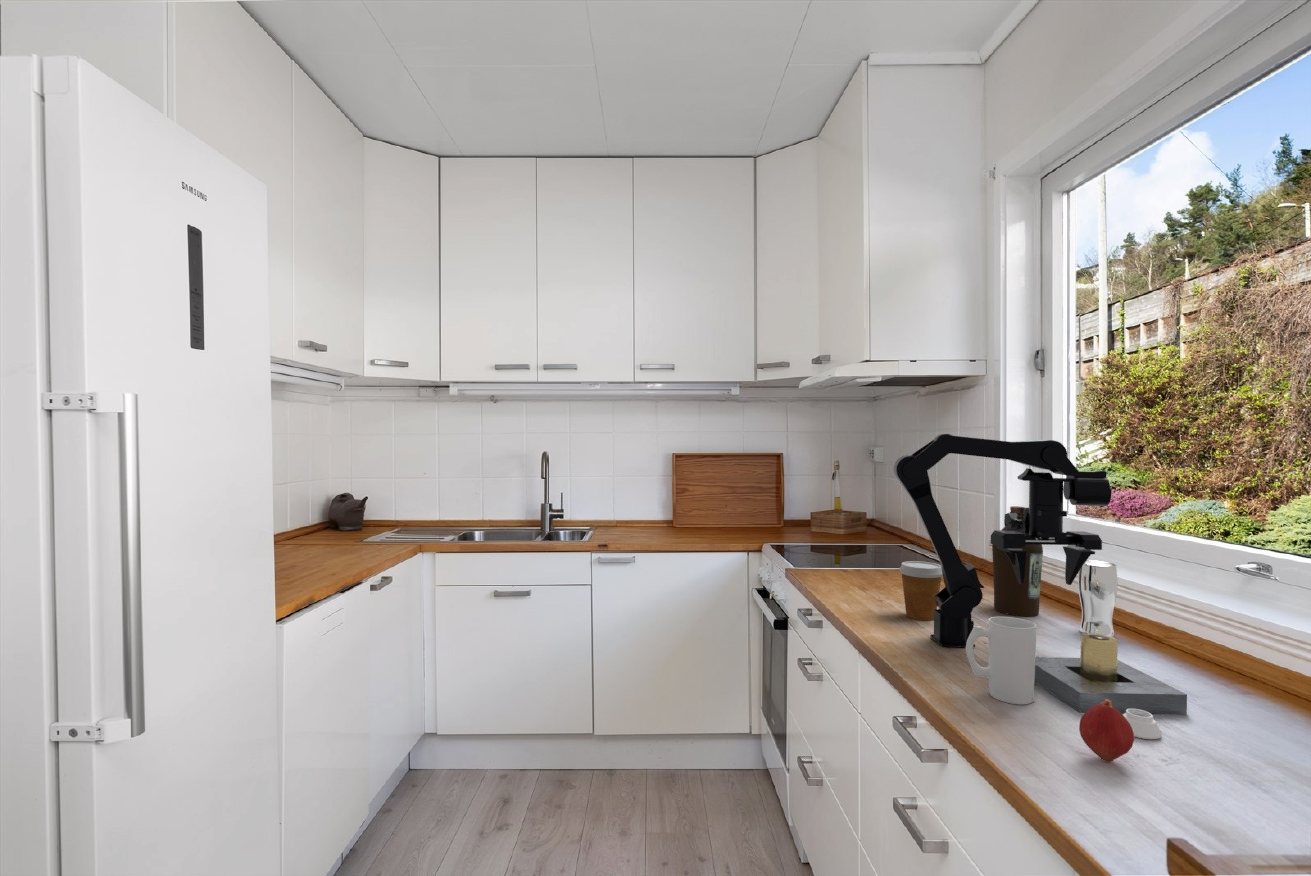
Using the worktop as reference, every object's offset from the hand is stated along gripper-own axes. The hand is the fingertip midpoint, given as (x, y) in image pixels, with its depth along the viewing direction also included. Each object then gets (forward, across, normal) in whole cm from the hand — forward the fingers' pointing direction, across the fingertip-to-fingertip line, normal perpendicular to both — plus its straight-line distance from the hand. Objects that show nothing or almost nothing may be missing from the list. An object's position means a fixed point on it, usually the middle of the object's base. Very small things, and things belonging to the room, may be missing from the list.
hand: (1044, 584), depth 128 cm
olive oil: (+13, -10, -29) cm, 33 cm away
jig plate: (+13, +3, +21) cm, 25 cm away
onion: (+13, +17, +44) cm, 49 cm away
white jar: (+13, +7, +36) cm, 39 cm away
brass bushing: (+13, +3, +21) cm, 25 cm away
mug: (+13, +20, +23) cm, 33 cm away
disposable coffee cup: (+13, +15, -23) cm, 31 cm away
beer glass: (+13, -18, -12) cm, 25 cm away
